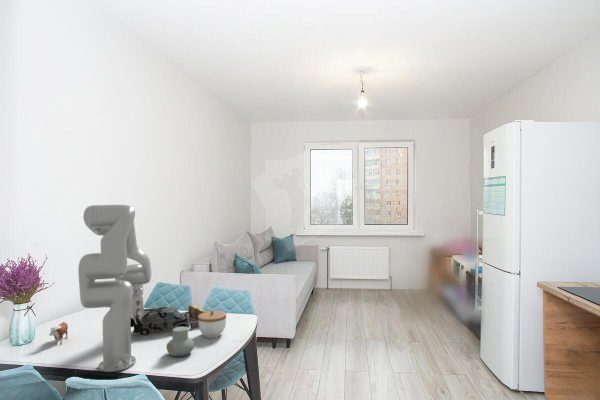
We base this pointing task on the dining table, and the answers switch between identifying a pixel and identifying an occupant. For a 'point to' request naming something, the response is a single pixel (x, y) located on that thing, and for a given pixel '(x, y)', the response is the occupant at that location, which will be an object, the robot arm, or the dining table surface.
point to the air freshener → (180, 342)
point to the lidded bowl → (212, 323)
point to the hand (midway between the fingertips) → (134, 329)
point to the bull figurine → (59, 332)
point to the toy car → (162, 320)
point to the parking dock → (194, 315)
